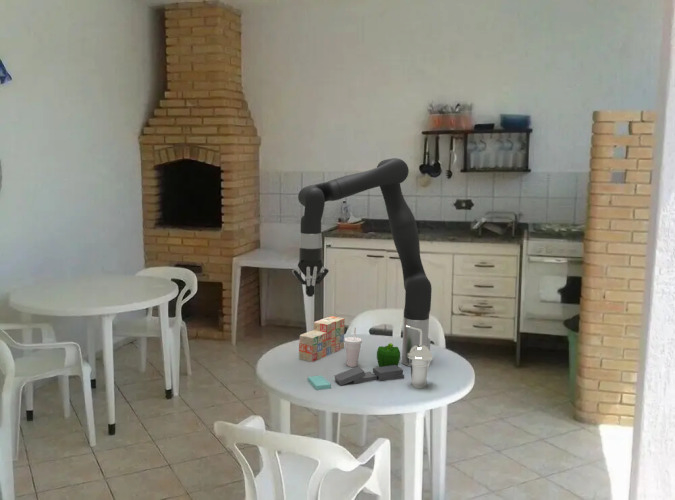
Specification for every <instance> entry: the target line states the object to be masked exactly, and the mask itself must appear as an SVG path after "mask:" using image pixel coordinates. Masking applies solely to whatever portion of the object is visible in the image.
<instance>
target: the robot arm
mask: <svg viewBox="0 0 675 500" xmlns="http://www.w3.org/2000/svg"><path fill="white" fill-rule="evenodd" d="M409 171H410V169H409V166H408V164H407V162H405V161H404V160H403V159H401V158H397V157H394V158H393V157H392V158H387V159H383V160H381V161H380V162H379V163H378V164H377V166H376V167H375V168H372V169H369V170H366V171H362V172H361V171H360V172H356V173H352V174H348V175H344V176H341V177H337V178H334V179H330V180H328V181H325V182H320V183H315V184H311V185H310V184H309V185H306V186H304V187H303V188H302V189H301V190H299V192H298V195H297V197H298V198H297V199H298V203H300V205H302V206H303V207H304V212H303V216H302V217H301V218H300V235H299V259H298V260H299V261H298V263H297V266H296V267H295V268H294V269H291V272H292V274H293V275H294V276H295V278H296V279H297V280H298V281H299V283H300V284H302V285H304V286H305V295H307V297H314V296H315V292H316V289H315V288H316V286H317V285H320V283H321V282H322V281H323V280H324V279H325V277H327V275H328V273H329V269H328V268H326V267H325V266H324V264H323V262H322V260H323V259H322V255H323V253H322V250H323V247H322V246H323V238H322V218H323V214H324V211H325V203H326V202H329V201H330V202H333V201H339V200H342V199H344V198H348V197H350V196H351V197H352V196H354V195H357V194H360V193H361V192H364V191H368V190H371V189H375V188H378V187H379V188H380V191H381V194H382V197H383V200H384V204H385V210H386V213H387V216H388V222H389V227H390V232H391V236H392V239H393V243H394V246H395V250H396V252H397V255H398V257H399V261H400V263H401V268H402V269H401V270H402V277H403V288H404V291H405V294H404V295H405V296H404V298H405V299H404V309H403V320H402V321H403V322H402V323H403V324H402V327H403V328H402V345H401V346H402V350H401V352H402V353H401V363H402V364H403V365H405V366H408V367H411V366H410V362H409V358H408V357H407V355H408V353H409V352H410V350H411V348H412V347H413V346H415V345H418V344H420V331H418V330H414V329H410V328H407V327H406V325H407V326H411V327H415V328H419V329H421V330H422V345H425V346H426V347H427V348H428V349H429V350H430V351H431V338H430V337H429V329H430V313H431V310H432V309H431V308H432V303H431V302H432V288H433V287H432V283H431V281H430V280H429V278H428V277H427V274H426V271H425V268H424V266H423V263H422V258H421V249H420V247H421V246H420V235H419V232H418V226H417V222H416V221H417V220H416V219H415V215H414V214H413V212H412V210H411V208H410V207H409V205H408V203H407V201H406V199H405V198H404V195H403V192H402V188H401V184H402V183H403V182H404V181H406V180H407V178H408V177H409ZM319 272H320V273H319ZM301 273H302V275H303V276H304V279H303V277H302V276H301V275H300V274H301ZM317 275H318V276H317Z"/></svg>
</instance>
